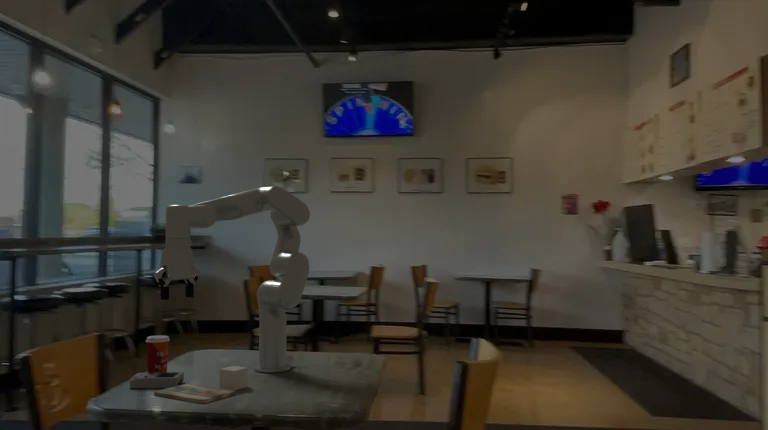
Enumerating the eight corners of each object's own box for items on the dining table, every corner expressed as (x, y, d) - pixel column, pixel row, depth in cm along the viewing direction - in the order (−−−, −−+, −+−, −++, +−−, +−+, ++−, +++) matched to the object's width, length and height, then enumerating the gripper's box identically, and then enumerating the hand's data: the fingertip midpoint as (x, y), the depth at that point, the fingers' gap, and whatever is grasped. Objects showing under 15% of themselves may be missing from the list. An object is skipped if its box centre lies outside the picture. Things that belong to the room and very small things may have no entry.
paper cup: (161, 382, 206) (162, 338, 207) (139, 381, 208) (140, 338, 208) (174, 377, 214) (174, 335, 214) (153, 376, 215) (154, 334, 216)
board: (188, 386, 200) (188, 383, 200) (235, 394, 190) (235, 390, 190) (154, 395, 189) (154, 391, 189) (202, 403, 179) (203, 399, 179)
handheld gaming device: (137, 383, 206) (137, 371, 206) (184, 383, 207) (184, 371, 207) (128, 390, 197) (128, 378, 197) (176, 389, 198) (176, 377, 198)
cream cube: (233, 384, 203) (233, 365, 203) (247, 387, 200) (247, 367, 200) (219, 388, 198) (219, 369, 198) (233, 390, 195) (234, 371, 195)
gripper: (191, 243, 211) (190, 295, 210) (147, 244, 196) (146, 300, 196) (207, 243, 207) (206, 297, 206) (163, 244, 192) (162, 301, 192)
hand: (177, 298), depth 201 cm, fingers open, 9 cm apart
